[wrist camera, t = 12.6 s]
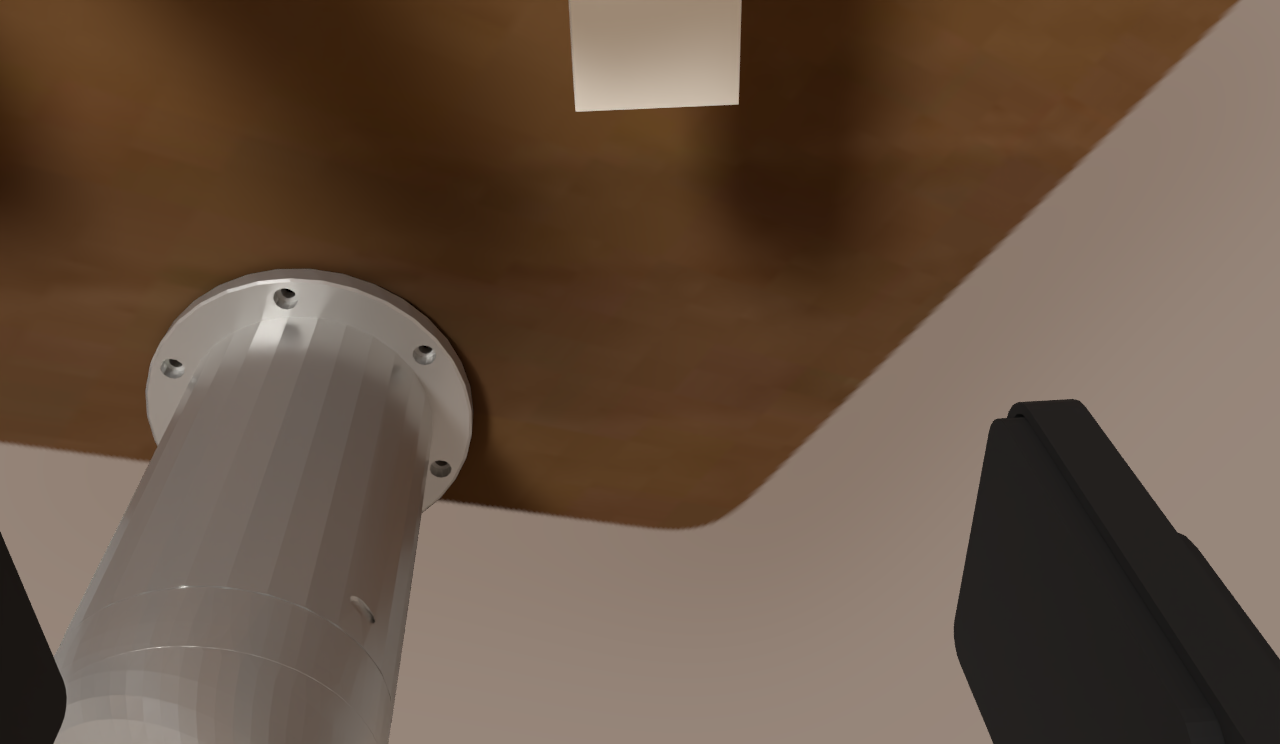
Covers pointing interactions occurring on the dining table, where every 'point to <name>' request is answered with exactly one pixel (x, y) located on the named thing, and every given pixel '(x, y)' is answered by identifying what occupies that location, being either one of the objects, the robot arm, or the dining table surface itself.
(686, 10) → the ash bar
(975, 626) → the robot arm
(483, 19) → the dining table surface
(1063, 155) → the dining table surface
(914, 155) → the dining table surface
